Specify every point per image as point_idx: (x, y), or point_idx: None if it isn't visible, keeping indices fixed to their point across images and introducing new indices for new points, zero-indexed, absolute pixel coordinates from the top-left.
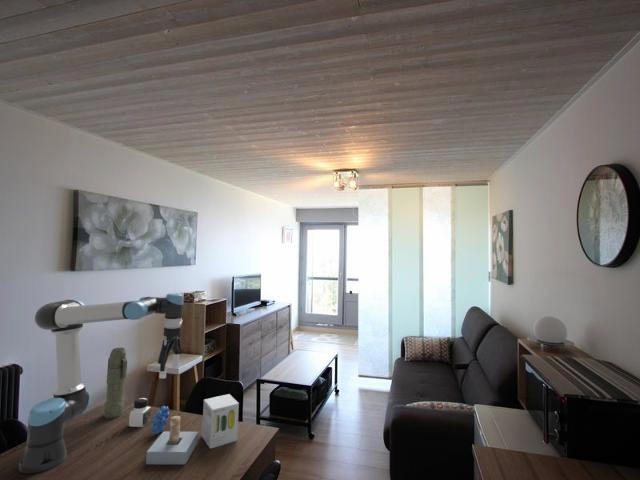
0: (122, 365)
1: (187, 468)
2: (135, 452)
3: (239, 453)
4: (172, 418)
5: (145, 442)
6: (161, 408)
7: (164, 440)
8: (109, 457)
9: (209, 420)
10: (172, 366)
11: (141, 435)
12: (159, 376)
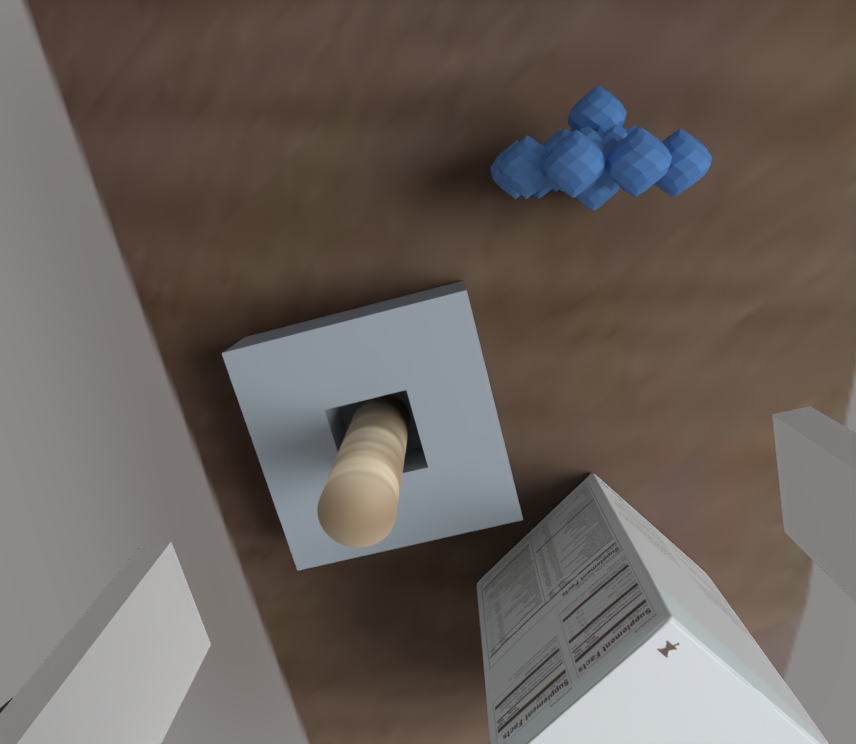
0: None
1: (287, 562)
2: (319, 187)
3: (477, 732)
4: (340, 493)
5: (434, 165)
6: (621, 160)
7: (365, 375)
8: (222, 61)
9: (512, 663)
10: (792, 432)
11: (505, 65)
12: (122, 574)
